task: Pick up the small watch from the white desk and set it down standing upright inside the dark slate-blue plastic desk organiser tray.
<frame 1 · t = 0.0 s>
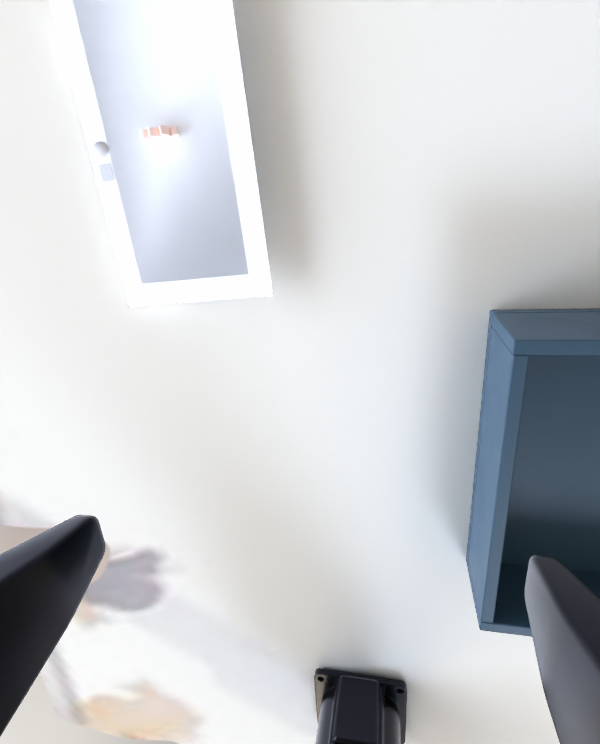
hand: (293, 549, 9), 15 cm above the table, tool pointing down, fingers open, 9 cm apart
touchpad: (177, 137, 21), on the table
organiser tray: (594, 455, 22), on the table
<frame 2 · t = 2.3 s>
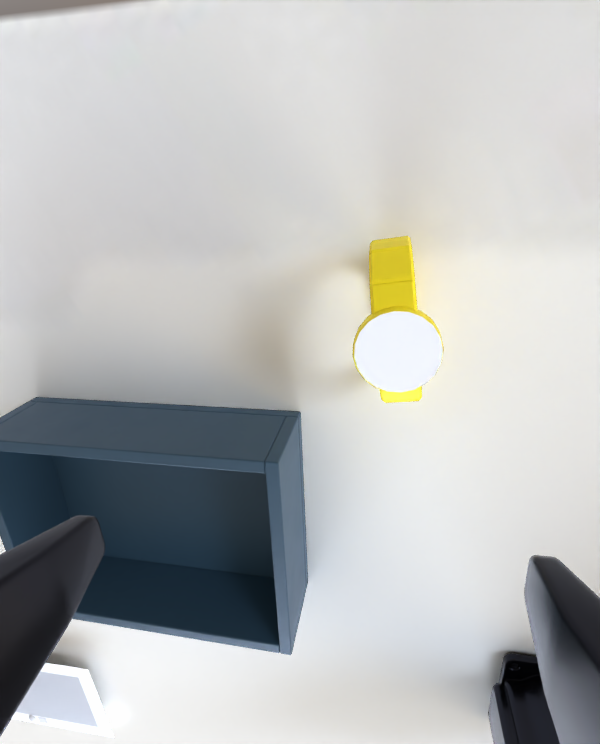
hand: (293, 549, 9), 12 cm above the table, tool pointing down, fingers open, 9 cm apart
touchpad: (30, 674, 36), on the table
watch: (396, 303, 19), on the table
organiser tray: (175, 491, 25), on the table
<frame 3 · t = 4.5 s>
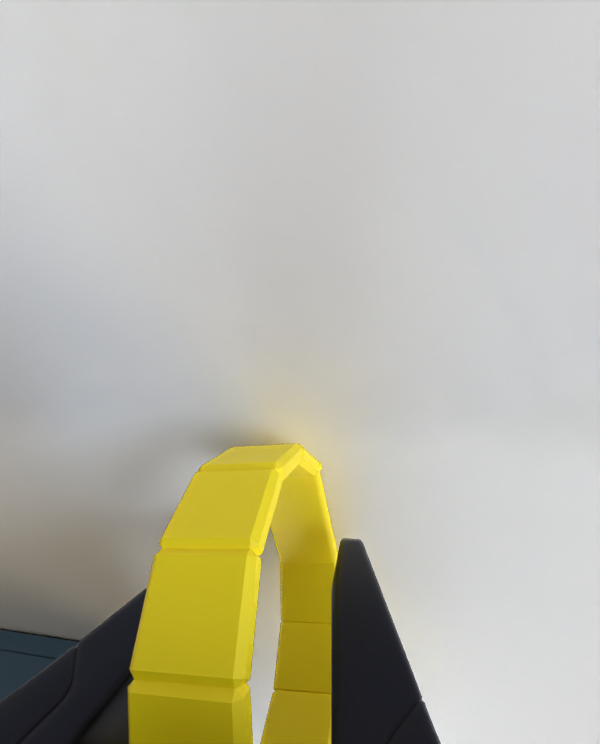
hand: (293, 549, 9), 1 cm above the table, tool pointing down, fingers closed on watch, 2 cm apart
watch: (304, 510, 10), on the table, touching gripper
organiser tray: (5, 729, 16), on the table
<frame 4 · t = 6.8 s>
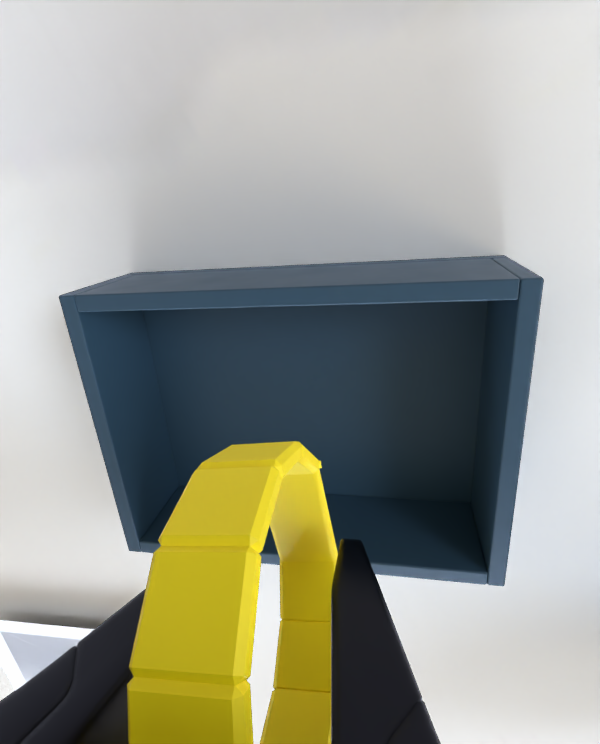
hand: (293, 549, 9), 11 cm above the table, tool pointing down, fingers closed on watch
touchpad: (102, 651, 31), on the table
watch: (303, 508, 10), point 10 cm above the table, touching gripper
organiser tray: (310, 392, 20), on the table
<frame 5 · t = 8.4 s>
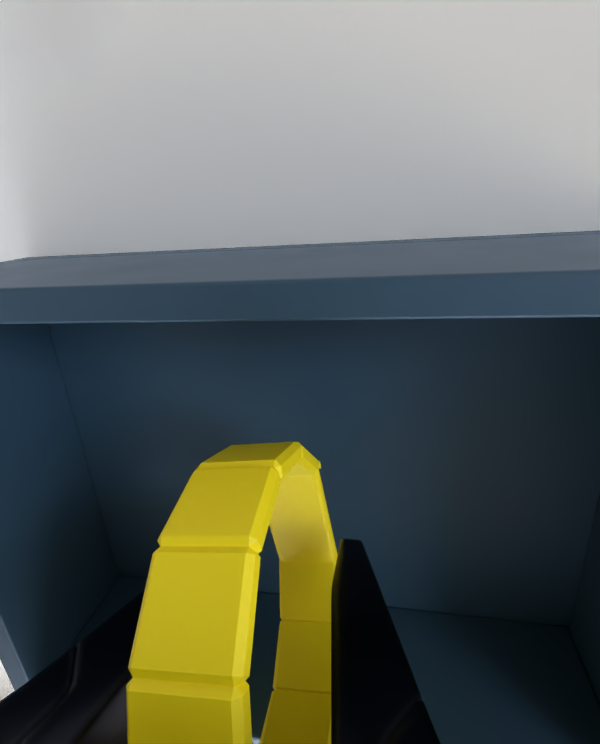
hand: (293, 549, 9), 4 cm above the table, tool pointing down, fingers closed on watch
watch: (303, 508, 10), point 3 cm above the table, touching gripper
organiser tray: (316, 449, 12), on the table
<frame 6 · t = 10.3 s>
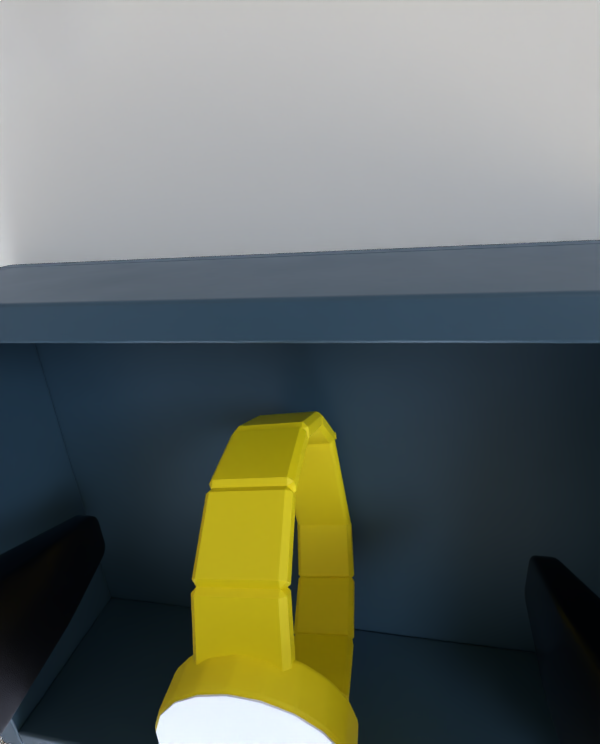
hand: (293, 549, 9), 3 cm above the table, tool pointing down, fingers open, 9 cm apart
watch: (318, 477, 11), resting in organiser tray
organiser tray: (318, 468, 12), on the table
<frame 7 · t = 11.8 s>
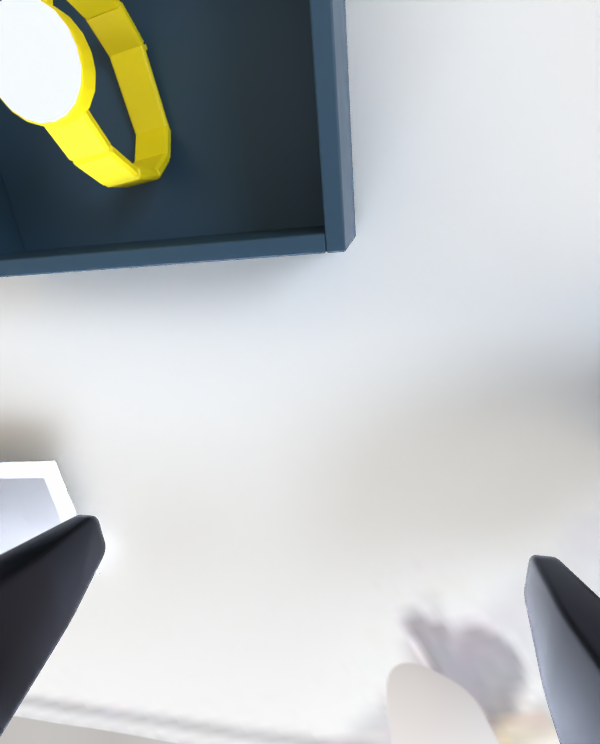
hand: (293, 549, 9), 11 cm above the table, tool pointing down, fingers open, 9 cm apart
watch: (147, 100, 17), resting in organiser tray
organiser tray: (151, 102, 17), on the table
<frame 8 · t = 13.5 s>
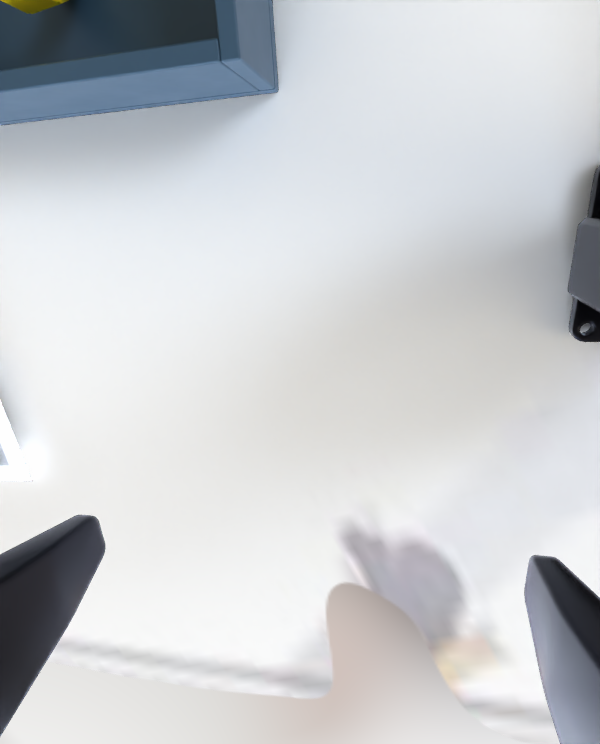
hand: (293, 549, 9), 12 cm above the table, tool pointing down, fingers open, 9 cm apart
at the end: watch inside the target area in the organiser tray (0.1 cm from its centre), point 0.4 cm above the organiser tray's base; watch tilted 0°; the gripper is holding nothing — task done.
